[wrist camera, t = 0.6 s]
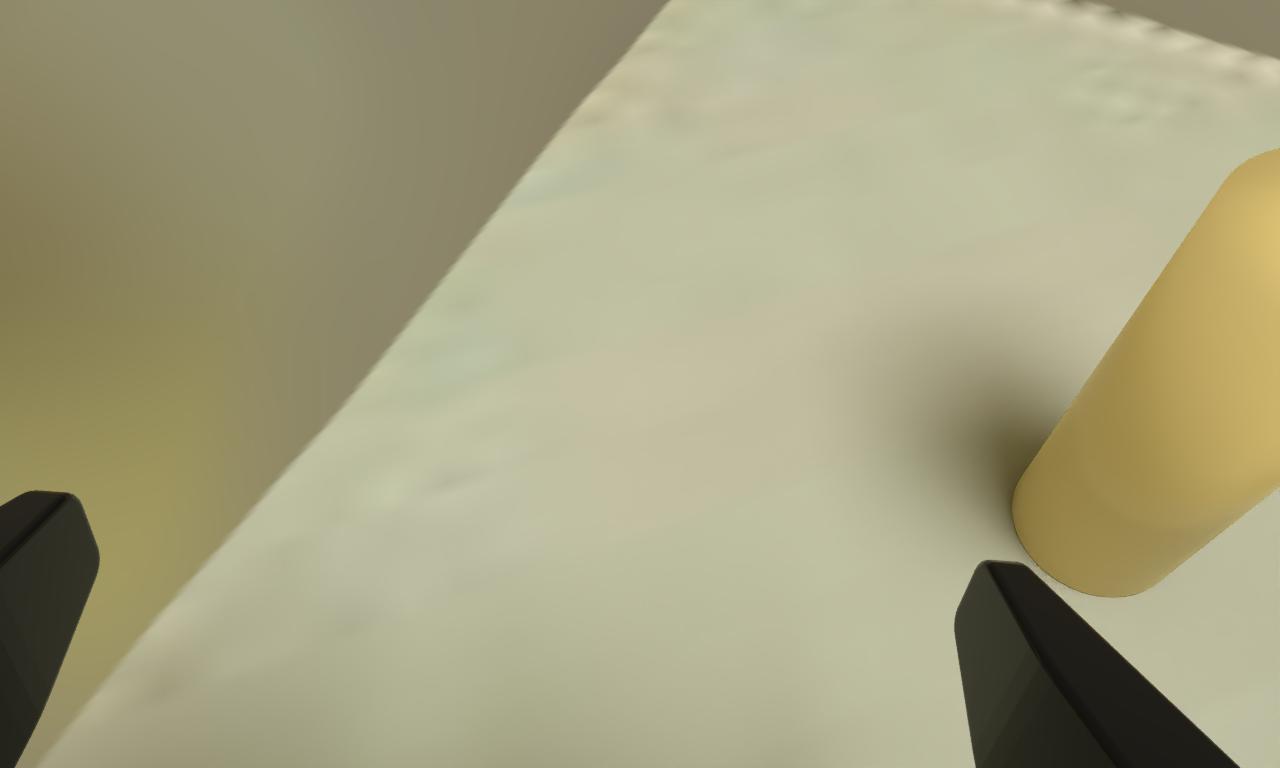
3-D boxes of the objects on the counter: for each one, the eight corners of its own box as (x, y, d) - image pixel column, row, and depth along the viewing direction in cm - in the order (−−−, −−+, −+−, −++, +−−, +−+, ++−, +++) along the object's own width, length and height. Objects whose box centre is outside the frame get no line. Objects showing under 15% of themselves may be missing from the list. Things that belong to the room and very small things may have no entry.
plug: (1212, 560, 25) (1572, 290, 15) (1075, 623, 24) (1350, 385, 14) (1110, 429, 27) (1360, 116, 17) (981, 484, 26) (1159, 192, 16)
